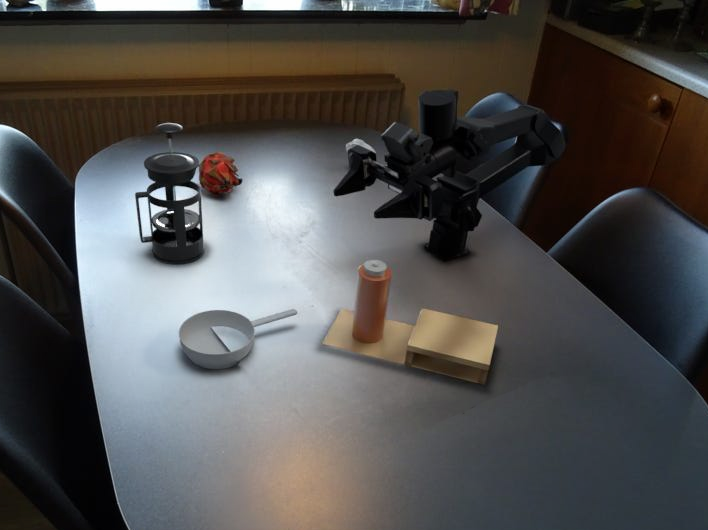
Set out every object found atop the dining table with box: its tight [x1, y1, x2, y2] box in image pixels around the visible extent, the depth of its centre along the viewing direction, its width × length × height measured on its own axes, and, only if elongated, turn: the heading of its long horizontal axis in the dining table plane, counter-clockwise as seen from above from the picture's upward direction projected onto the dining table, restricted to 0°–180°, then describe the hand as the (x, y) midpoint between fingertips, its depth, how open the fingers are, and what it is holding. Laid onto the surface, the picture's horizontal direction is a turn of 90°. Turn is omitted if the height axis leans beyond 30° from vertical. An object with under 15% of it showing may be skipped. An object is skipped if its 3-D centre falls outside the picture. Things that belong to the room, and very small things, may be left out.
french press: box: [134, 122, 206, 265], centre depth 114 cm, size 12×9×23 cm
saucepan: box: [178, 308, 298, 370], centre depth 99 cm, size 11×18×4 cm, turn 118°
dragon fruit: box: [197, 151, 244, 198], centre depth 141 cm, size 8×8×12 cm
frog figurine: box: [345, 138, 377, 154], centre depth 155 cm, size 6×7×7 cm
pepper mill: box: [352, 259, 393, 343], centre depth 99 cm, size 5×5×12 cm
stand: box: [322, 307, 499, 385], centre depth 100 cm, size 24×10×4 cm, turn 71°
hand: (353, 204), depth 104 cm, fingers open, 9 cm apart
